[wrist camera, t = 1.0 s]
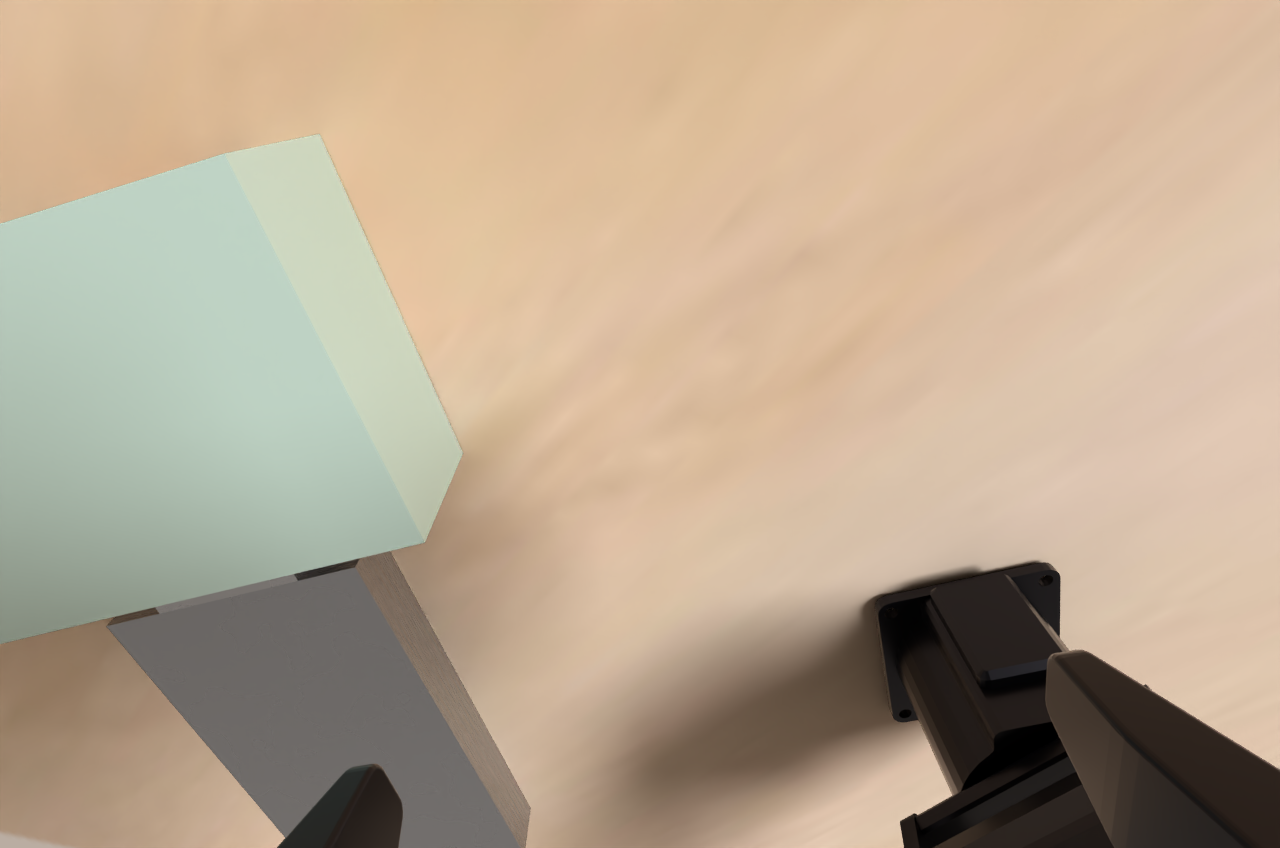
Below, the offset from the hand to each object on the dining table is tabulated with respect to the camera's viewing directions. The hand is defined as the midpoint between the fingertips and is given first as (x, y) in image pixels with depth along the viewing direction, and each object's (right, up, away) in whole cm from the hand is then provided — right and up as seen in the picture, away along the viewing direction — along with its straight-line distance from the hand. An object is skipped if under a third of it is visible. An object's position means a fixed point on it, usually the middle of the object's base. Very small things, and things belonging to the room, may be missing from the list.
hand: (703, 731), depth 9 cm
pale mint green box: (-16, +5, +12) cm, 21 cm away
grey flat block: (-12, -7, +18) cm, 23 cm away
